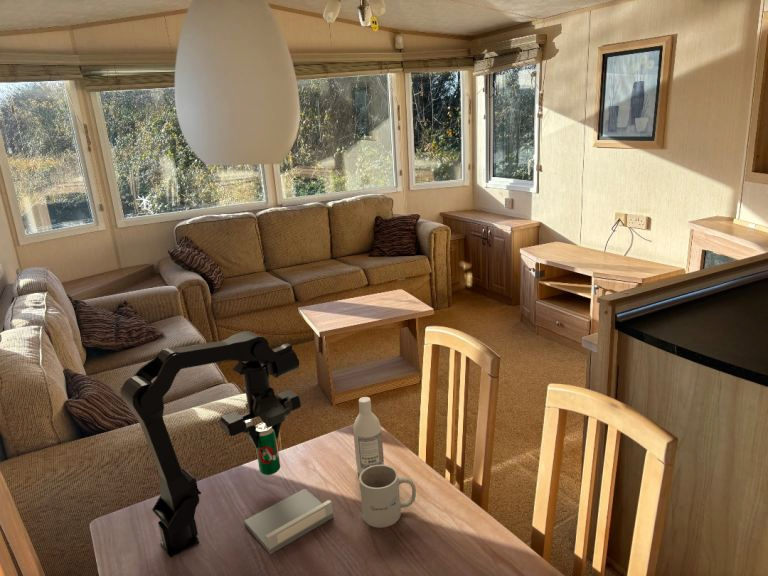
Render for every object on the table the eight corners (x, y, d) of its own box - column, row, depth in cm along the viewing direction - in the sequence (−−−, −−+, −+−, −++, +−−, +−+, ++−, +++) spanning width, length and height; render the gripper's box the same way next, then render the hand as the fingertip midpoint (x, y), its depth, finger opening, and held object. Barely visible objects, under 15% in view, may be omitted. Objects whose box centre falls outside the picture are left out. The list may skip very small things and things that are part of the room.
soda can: (269, 461, 138) (263, 419, 135) (285, 467, 136) (278, 423, 132) (255, 472, 134) (248, 429, 131) (270, 478, 132) (263, 434, 128)
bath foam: (389, 470, 140) (384, 400, 134) (366, 481, 137) (359, 409, 131) (375, 458, 146) (369, 389, 140) (352, 467, 142) (345, 398, 136)
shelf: (270, 555, 116) (268, 538, 114) (244, 525, 125) (242, 509, 124) (334, 517, 125) (332, 502, 124) (305, 492, 134) (303, 477, 133)
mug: (361, 528, 121) (357, 489, 118) (364, 501, 130) (360, 465, 127) (417, 526, 121) (414, 487, 118) (416, 500, 129) (414, 463, 126)
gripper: (235, 411, 116) (245, 475, 121) (310, 381, 128) (317, 440, 132) (213, 394, 125) (224, 454, 129) (285, 367, 136) (293, 423, 140)
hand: (266, 443), depth 133 cm, fingers closed on soda can, 5 cm apart
